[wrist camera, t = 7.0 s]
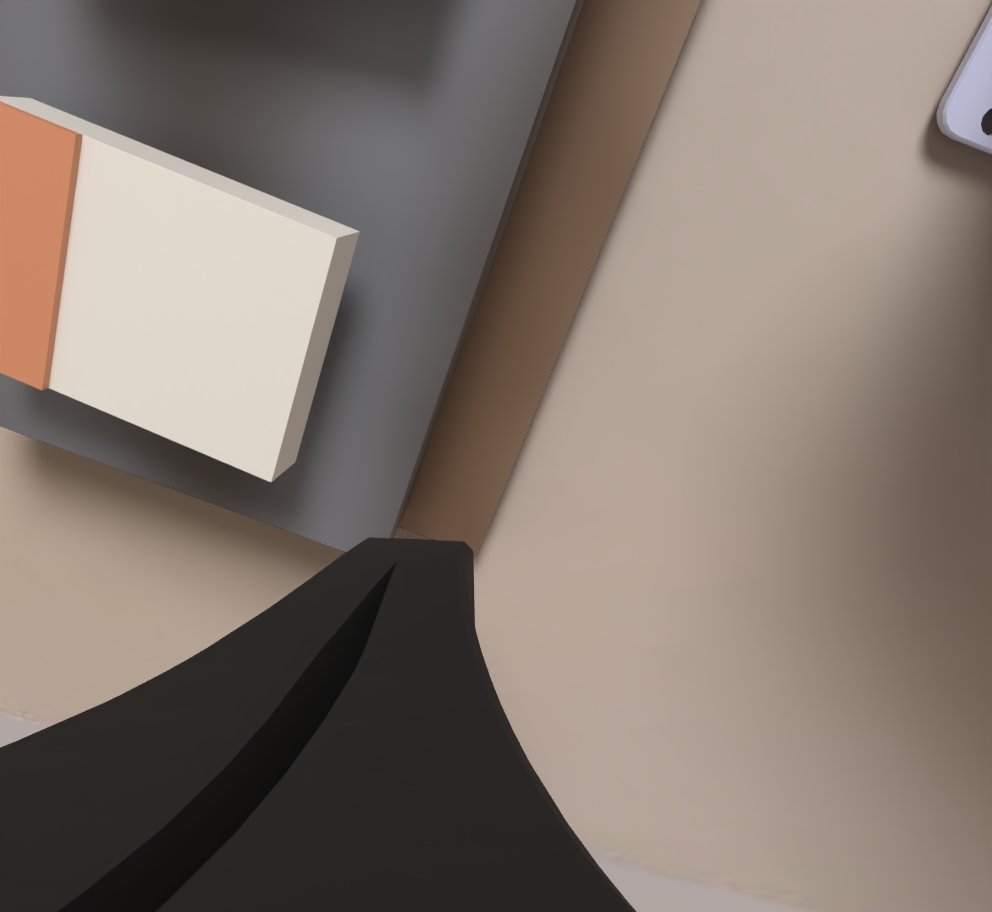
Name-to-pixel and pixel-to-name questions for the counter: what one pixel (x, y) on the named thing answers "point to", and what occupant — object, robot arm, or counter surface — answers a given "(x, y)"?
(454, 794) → the robot arm
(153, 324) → the block
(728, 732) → the counter surface
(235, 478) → the switch unit
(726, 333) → the counter surface
